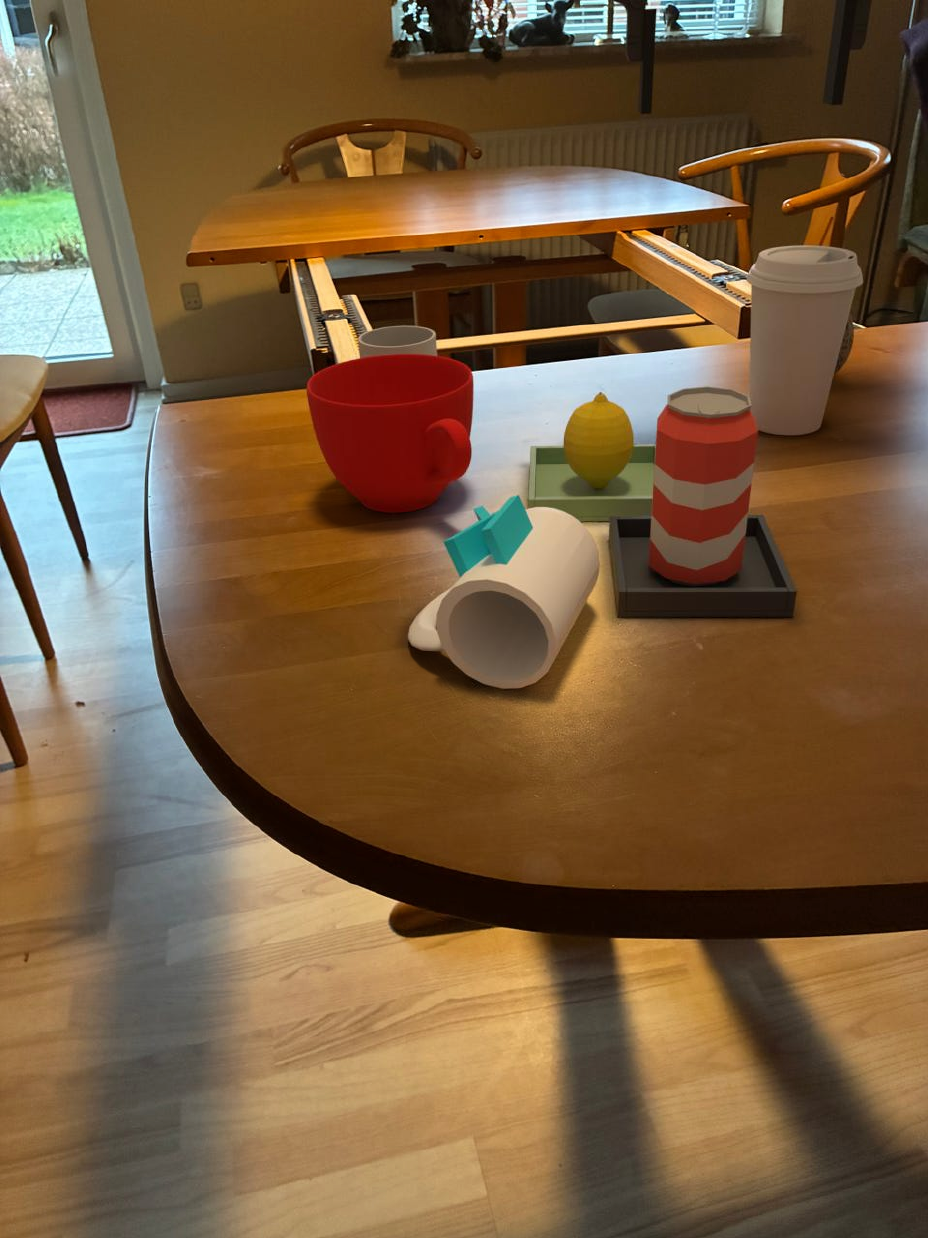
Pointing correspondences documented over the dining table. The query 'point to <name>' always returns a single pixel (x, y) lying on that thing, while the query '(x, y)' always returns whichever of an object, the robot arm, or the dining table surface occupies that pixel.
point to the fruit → (598, 441)
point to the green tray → (578, 498)
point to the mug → (511, 594)
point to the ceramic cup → (394, 426)
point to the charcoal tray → (742, 595)
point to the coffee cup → (797, 332)
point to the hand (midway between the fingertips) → (737, 108)
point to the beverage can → (702, 485)
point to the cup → (397, 341)
